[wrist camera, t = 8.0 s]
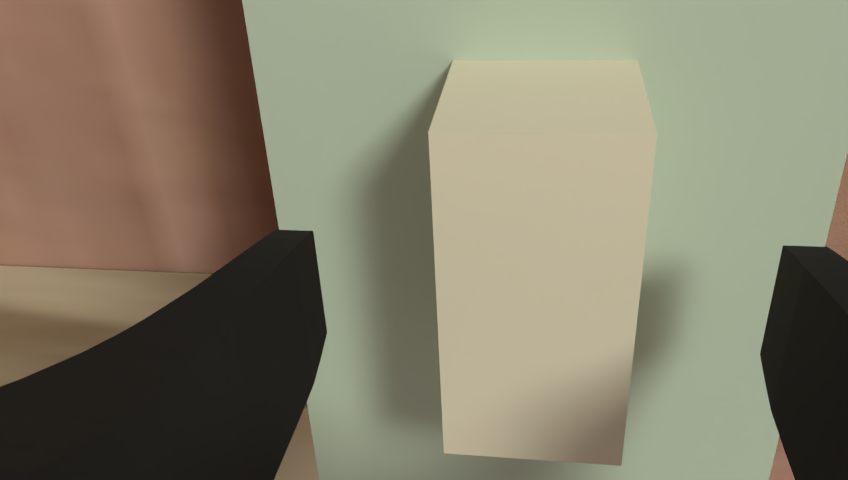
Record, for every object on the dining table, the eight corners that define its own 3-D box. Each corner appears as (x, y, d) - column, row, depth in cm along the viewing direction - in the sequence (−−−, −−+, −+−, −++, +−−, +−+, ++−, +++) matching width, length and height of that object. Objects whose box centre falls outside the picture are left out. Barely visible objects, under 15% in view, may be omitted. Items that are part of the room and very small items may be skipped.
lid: (735, 483, 20) (782, 679, 16) (343, 455, 21) (290, 627, 17) (915, -365, 11) (1126, -436, 7) (237, -317, 13) (79, -351, 9)
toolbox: (713, 396, 23) (751, 551, 18) (3, 356, 26) (-111, 478, 22) (846, -342, 14) (977, -387, 10) (-246, -267, 17) (-522, -273, 13)
